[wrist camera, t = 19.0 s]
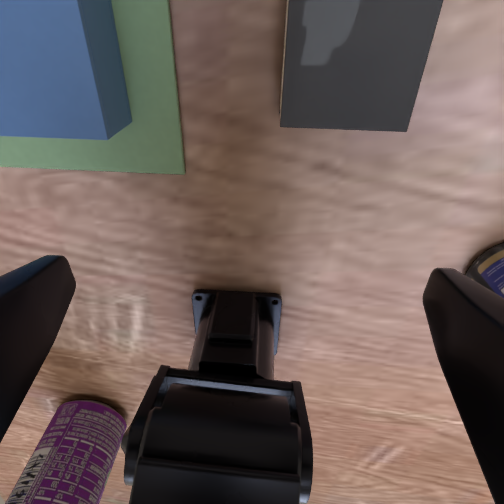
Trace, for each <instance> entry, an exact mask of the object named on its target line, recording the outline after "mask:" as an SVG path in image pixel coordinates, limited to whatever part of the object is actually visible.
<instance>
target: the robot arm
mask: <svg viewBox="0 0 504 504" xmlns="http://www.w3.org/2000/svg"><path fill="white" fill-rule="evenodd" d="M75 288H76V281H75V278H74V276H73V273H72V271H71V268H70V265H69V263H68V260H67V259H66V258H65V257H64V256H60V255H46V256H44V257H41V258H39V259H37V260H35V261H33V262H31V263H28V264H26V265H24V266H22V267H20V268H17V269H15V270H13V271H11V272H9V273H6V274H4V275H2V276H0V443H1V441H2V439H3V437H4V435H5V433H6V431H7V430H8V428H9V426H10V424H11V422H12V420H13V418H14V417H15V415H16V413H17V411H18V409H19V407H20V405H21V403H22V402H23V400H24V398H25V396H26V394H27V392H28V390H29V388H30V387H31V385H32V383H33V381H34V379H35V377H36V375H37V374H38V372H39V370H40V368H41V366H42V364H43V362H44V360H45V359H46V357H47V355H48V353H49V351H50V349H51V347H52V345H53V343H54V341H55V339H56V336H57V334H58V332H59V329H60V327H61V324H62V322H63V319H64V317H65V314H66V312H67V309H68V307H69V304H70V302H71V299H72V297H73V295H74V292H75ZM198 296H201V297H198ZM273 300H277V301H273ZM192 304H193V314H194V323H195V332H196V338H195V342H194V346H193V350H192V354H191V358H190V362H189V366H188V370H186V369H178V368H170V366H165V365H161V366H160V368H159V370H158V373H157V375H156V376H154V377H153V379H152V381H151V383H150V386H149V388H148V390H147V392H146V394H145V396H144V398H143V400H142V402H141V404H140V407H139V409H138V411H137V413H136V415H135V417H134V419H133V421H132V423H131V425H130V426H129V428H128V429H127V430H126V432H125V433H124V435H123V437H122V441H121V448H122V450H123V452H124V453H125V467H124V482H125V484H126V485H131V486H132V490H131V495H130V501H129V504H307V502H308V500H309V497H310V492H311V485H312V474H313V447H312V437H311V431H310V426H309V421H308V416H307V411H306V406H305V401H304V396H303V391H302V386H301V382H299V381H291V382H287V381H278V380H274V355H276V353H277V346H278V336H279V326H280V316H281V306H282V298H281V296H280V295H279V294H275V293H257V292H239V291H221V290H202V289H197V290H195V291H194V292H193V295H192ZM423 305H424V309H425V313H426V316H427V320H428V324H429V328H430V331H431V335H432V339H433V343H434V346H435V350H436V353H437V357H438V360H439V363H440V365H441V368H442V371H443V373H444V376H445V378H446V381H447V383H448V386H449V388H450V391H451V393H452V396H453V399H454V401H455V404H456V406H457V409H458V411H459V414H460V416H461V419H462V421H463V424H464V426H465V429H466V431H467V434H468V436H469V439H470V441H471V444H472V446H473V449H474V452H475V454H476V457H477V459H478V462H479V464H480V467H481V469H482V472H483V474H484V477H485V479H486V482H487V484H488V487H489V489H490V492H491V494H492V497H493V499H494V502H495V504H504V298H503V297H501V296H499V295H498V294H496V293H494V292H493V291H491V290H489V289H488V288H486V287H484V286H482V285H481V284H479V283H477V282H476V281H474V280H472V279H470V278H469V277H467V276H465V275H464V274H462V273H460V272H459V271H457V270H455V269H452V268H436V269H434V270H433V271H432V273H431V275H430V277H429V280H428V283H427V285H426V288H425V291H424V293H423Z"/></svg>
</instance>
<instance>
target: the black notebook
mask: <svg viewBox="0 0 504 504" xmlns="http://www.w3.org/2000/svg"><path fill="white" fill-rule="evenodd" d="M442 3H443V0H287V5H286V21H285V36H284V51H283V66H282V81H281V96H280V112H279V113H280V127H292V128H318V129H344V130H369V131H395V132H407V129H408V125H409V121H410V118H411V114H412V111H413V107H414V103H415V100H416V96H417V93H418V89H419V86H420V82H421V78H422V75H423V71H424V68H425V64H426V61H427V57H428V53H429V50H430V46H431V43H432V39H433V35H434V32H435V28H436V25H437V21H438V18H439V14H440V10H441V7H442Z"/></svg>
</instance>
